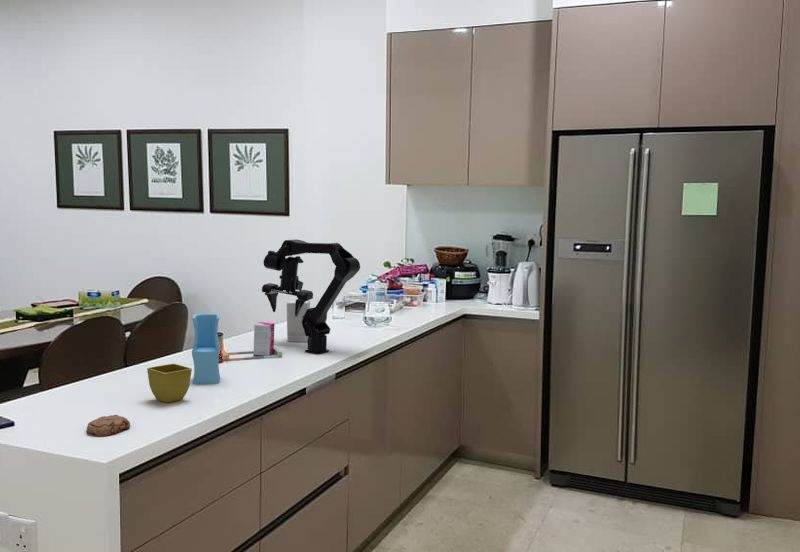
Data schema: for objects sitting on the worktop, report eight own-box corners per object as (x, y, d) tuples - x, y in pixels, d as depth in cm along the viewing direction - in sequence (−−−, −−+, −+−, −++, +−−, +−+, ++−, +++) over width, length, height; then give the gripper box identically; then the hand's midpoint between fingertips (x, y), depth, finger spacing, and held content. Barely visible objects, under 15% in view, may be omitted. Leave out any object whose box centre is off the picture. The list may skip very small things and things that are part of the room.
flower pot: (174, 393, 209) (174, 362, 208) (192, 399, 203) (192, 368, 202) (146, 399, 202) (146, 367, 201) (164, 406, 196) (164, 373, 195)
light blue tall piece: (192, 384, 219) (191, 318, 217) (194, 377, 227) (193, 313, 225) (219, 383, 221) (219, 318, 218) (220, 377, 228) (220, 313, 226)
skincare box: (310, 339, 290) (311, 300, 288) (307, 342, 284) (307, 303, 282) (290, 338, 291) (290, 299, 289) (285, 341, 284) (286, 302, 283)
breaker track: (274, 351, 267) (274, 345, 267) (282, 357, 258) (282, 351, 257) (219, 354, 259) (219, 349, 259) (224, 361, 250) (224, 355, 249)
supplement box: (269, 357, 257) (269, 325, 256) (253, 356, 258) (253, 324, 256) (274, 354, 263) (274, 322, 261) (258, 353, 263) (258, 321, 262)
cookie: (80, 438, 171) (79, 426, 170) (92, 424, 181) (91, 412, 181) (125, 437, 172) (124, 425, 172) (134, 423, 182) (133, 411, 182)
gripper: (321, 275, 276) (317, 315, 278) (277, 266, 282) (273, 306, 284) (308, 278, 265) (303, 320, 268) (262, 269, 271) (259, 310, 274)
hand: (285, 314), depth 274 cm, fingers open, 9 cm apart
